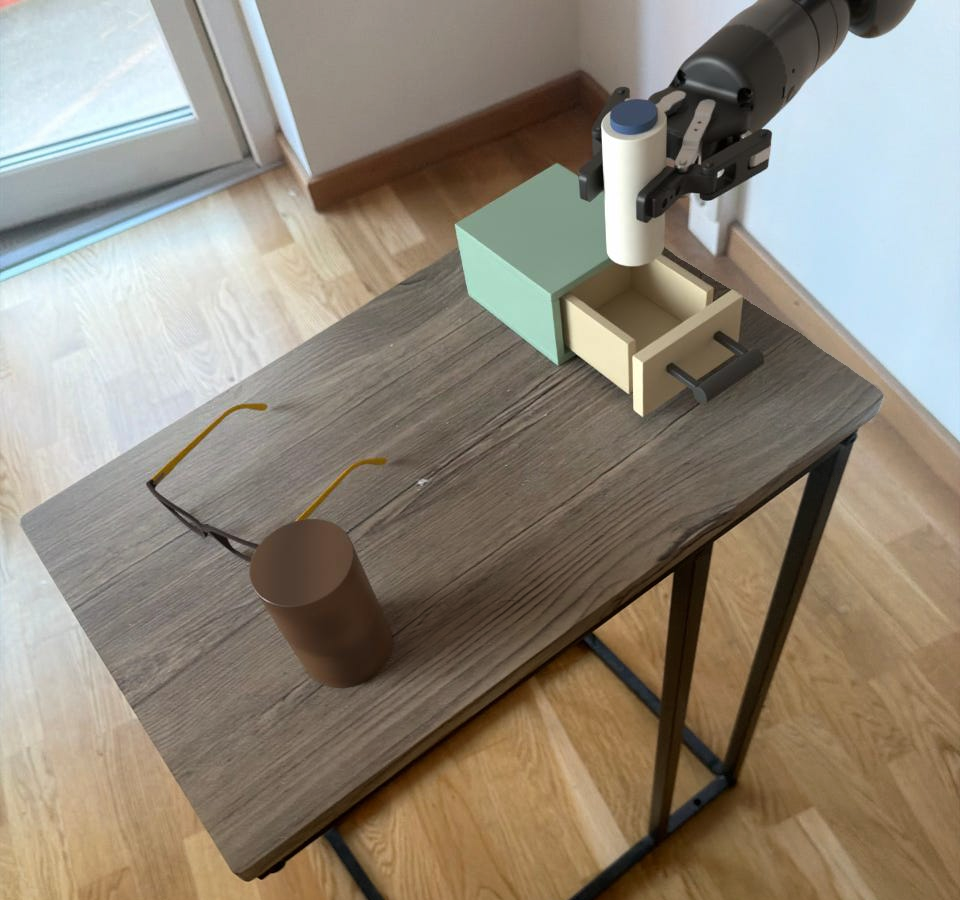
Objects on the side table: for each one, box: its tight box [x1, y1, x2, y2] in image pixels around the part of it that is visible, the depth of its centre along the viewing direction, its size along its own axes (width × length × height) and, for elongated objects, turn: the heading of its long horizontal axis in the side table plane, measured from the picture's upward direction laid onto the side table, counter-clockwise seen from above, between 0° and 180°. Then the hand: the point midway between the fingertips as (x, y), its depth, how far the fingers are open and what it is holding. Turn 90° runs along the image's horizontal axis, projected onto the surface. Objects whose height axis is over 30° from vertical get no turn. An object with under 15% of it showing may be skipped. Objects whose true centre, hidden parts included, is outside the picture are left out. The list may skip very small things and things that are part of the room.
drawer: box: [559, 253, 766, 418], centre depth 76 cm, size 17×10×6 cm, turn 36°
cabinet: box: [454, 162, 615, 367], centre depth 83 cm, size 14×12×8 cm
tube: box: [601, 98, 667, 266], centre depth 68 cm, size 4×4×11 cm
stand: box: [248, 518, 393, 689], centre depth 65 cm, size 7×7×11 cm
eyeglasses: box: [145, 402, 388, 564], centre depth 77 cm, size 14×14×4 cm
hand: (612, 199), depth 66 cm, fingers closed on tube, 4 cm apart
